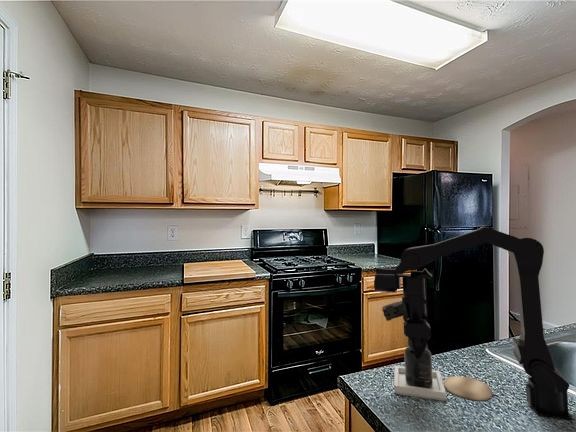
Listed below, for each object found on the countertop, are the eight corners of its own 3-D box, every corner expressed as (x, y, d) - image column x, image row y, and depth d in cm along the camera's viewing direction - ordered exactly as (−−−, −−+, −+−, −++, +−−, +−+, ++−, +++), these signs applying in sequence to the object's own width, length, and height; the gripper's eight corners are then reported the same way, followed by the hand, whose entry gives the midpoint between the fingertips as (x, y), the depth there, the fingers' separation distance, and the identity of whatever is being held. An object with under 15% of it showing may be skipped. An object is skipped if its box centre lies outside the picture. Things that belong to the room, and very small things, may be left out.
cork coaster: (485, 381, 83) (485, 379, 83) (498, 403, 73) (498, 401, 73) (441, 376, 87) (441, 374, 87) (447, 396, 77) (446, 393, 77)
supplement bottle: (400, 380, 84) (398, 336, 85) (420, 376, 86) (418, 333, 87) (417, 392, 78) (415, 345, 78) (439, 388, 80) (436, 341, 80)
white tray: (439, 378, 86) (439, 371, 86) (446, 401, 74) (445, 392, 75) (395, 372, 90) (394, 365, 90) (394, 393, 79) (394, 385, 79)
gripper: (384, 286, 95) (386, 337, 94) (381, 300, 77) (384, 362, 76) (423, 287, 91) (426, 340, 90) (429, 302, 73) (432, 368, 73)
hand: (416, 351), depth 82 cm, fingers open, 9 cm apart
